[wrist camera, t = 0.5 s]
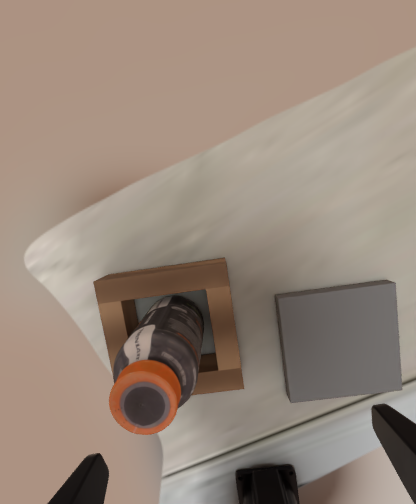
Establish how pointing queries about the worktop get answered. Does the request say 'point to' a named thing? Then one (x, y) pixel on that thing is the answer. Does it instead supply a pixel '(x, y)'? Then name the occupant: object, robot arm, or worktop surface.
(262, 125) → the worktop surface
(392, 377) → the rubber mat
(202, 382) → the bottle holder
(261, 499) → the robot arm
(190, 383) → the pill bottle
